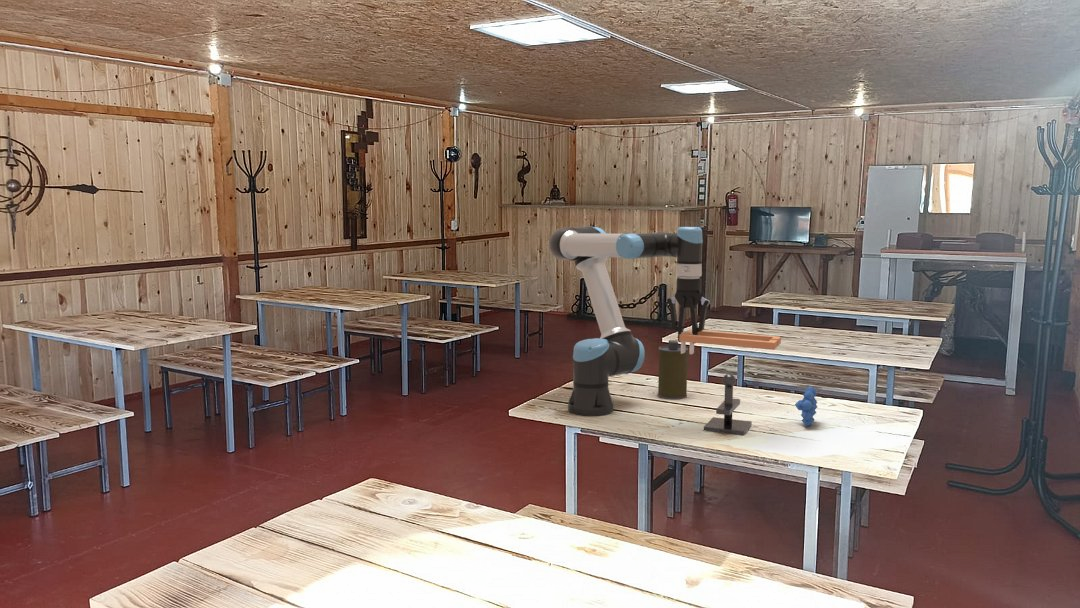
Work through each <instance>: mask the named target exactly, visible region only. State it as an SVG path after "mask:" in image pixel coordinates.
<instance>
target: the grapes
mask: <svg viewBox="0 0 1080 608" xmlns="http://www.w3.org/2000/svg"><path fill="white" fill-rule="evenodd" d="M804 391H805V392H804V393H803V394H802V396H803V399H799V400H798V401H796V403H795V404H794V405H795V408H796V409H797V410H798V411H801V414H800V416H801V417H802V419H801V422H802V423H803V425H804V426H806V427H809V426H811V425H812V424H813V423H814V422H815V418H814V416H815V415H816V414H817V411H816V409H818V405H817V404H818V401H817V399H816V398H815V397H817V395H818V393H817V391H816V389H815V387H814V386H812V385H809V386H807V388H805V390H804Z"/></svg>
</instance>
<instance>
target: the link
mask: <svg viewBox="0 0 1080 608" xmlns="http://www.w3.org/2000/svg"><path fill="white" fill-rule="evenodd" d="M691 332H692V328H691V329H687V330H686V331H685V332H684V333H682V334H680V335H679V341H681V342H686V343H690V342H692V343H694V344H704V345H705V344H706V345H717V346H726V347H727V346H728V347H739V348H748V349H749V348H750V349H761V350H772V351H773V350H774V351H775V350H776V349H777V348H778V346H779V347H780V345H781V343H782V336H777V335H766V334H754V333H753V334H752V333H740V332H727V331H716V330H715V331H713V330H705V329H704V330H702V331H701V332H698V335H690V333H691ZM681 342H680V343H681Z"/></svg>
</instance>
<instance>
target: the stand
mask: <svg viewBox="0 0 1080 608" xmlns="http://www.w3.org/2000/svg"><path fill="white" fill-rule="evenodd" d="M721 380H722V384H723V386H724V400H723V401H722V403H721V404H719V406H717V408H716V412H715V413H716V415H723V417H715V416H713V417H711V418H710V420H708V422H707V423H706V424H705V425H703V431H704V430H706V431H707V432H714V433H721V434H729V435H737V434H738V435H740V436H745V434H747V430H748V431H749V429H750V427H752V423H753V421H751V420H743V419H733V413H734V411H735V410H736V409H737V408H738V406H739V405H741V399H740V398H734V397H733V396H734V386H735V385H736V383H737V379H736V376H735V375H733V374H732V373H726V374H724V375H723V377H722V379H721ZM706 431H705V432H706ZM738 435H737V436H738Z"/></svg>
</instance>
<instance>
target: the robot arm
mask: <svg viewBox="0 0 1080 608" xmlns="http://www.w3.org/2000/svg"><path fill="white" fill-rule="evenodd" d="M703 243H704V239H703V230H702V228H701V227H699V226H680V227H678V228H677V232H665V231H657V232H647V233H645V232H644V233H607V232H605V230H603V229H602V228H600V227H597V226H591V225H590V226H587V225H586V226H576V227H575V226H571V227H568V226H567V227H560V228H558V229H557V230H555V231H554V232H552V234H551V235H550V237H549V239H548V247H549V251H550V253H551V255H552V256H553V257H554V258H556V259H558V260H559V261H565V262H566V261H569V262H571V261H573V262H574V265H575V267H576V270H578V271H580V272H581V274H582V276H583V279H584V283H585V287H586V291H587V292H588V296H589V299H590V303H591V305H592V309H593V312H594V315H595V318H596V322H597V324H598V329H599V331H600V334H601V335H600V337H595V338H587V339H583V340H579V341H578V342H576V343H575V344H574V346H573V353H572V364H573V365H572V366H573V370H572V371H573V375H572V377H573V382H572V383H573V384H572V385H573V386H572V390H571V393H570V395H569V399H568V403H567V411H568V412H569V413H572V414H575V415H579V416H587V415H596V416H605V415H609V414H611V413H613V412H614V401H613V398H612V396H611V392H610V390H609V389H610V388H609V377H613V376H614V377H615V376H620V375H628V374H629V375H630V374H631V373H634V372H637V371H638V370H639V369H641V367H642V366H643V364H644V361H645V356H646V355H645V354H646V352H645V347H644V345H643V343H642V341H641V340H639V339H638V338H636V337H634V336H633V332H632V330H631V329H629V328H627V327H626V325H625V322H624V319H623V317H622V313H621V309H620V307H619V303H618V301H617V296H616V295H615V294H616V293H615V291H614V287H613V284H612V282H611V278H610V276H609V275H610V274H609V272H608V269H607V266H606V263H607V261H608V259H609V258H622V259H627V260H628V259H629V260H634V259H645V258H663V257H664V258H665V257H667V258H668V257H669V258H676V276H677V278H676V284H675V285H676V289H675V290H676V291H675V294H674V296H672V297H669V298H667V299H666V302H667V304H668V305H669V315H670V321H671V329H672V330H674V331H676V332H677V341H678V343H680V346H681V354H683V353H685V350H686V348H687V346H686V344H687V342H681V341H679V335H680V334H682V333H684V332H686V331H685V321H686V315H687V314H686V312H687V308H689V311H690V318H691V319H690V320H691V329H692V332H691V333H690V335H698V332H701V331H702V330H705V325H706V319H707V311H708V308H709V305H710V303H711V300H710V299H707V298H705V297H704V296H703V293H702V278H701V277H702V275H703V272H702V271H703V270H702V269H703V268H702V267H703V266H702V263H703V260H702V259H703V257H702V256H703ZM676 302H677V303H678V304H679V316H677V315H678V314H677V307H676V306H677V305H676ZM700 303H701V305H702V306H701V311H700V316H699V320H698V312H697V311H698V310H697V309H698V308H697V307H698V305H699V304H700ZM678 317H679V318H678ZM688 351H689V353H688V355H693V354H694V353H695V343H692V342H689V348H688Z"/></svg>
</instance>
